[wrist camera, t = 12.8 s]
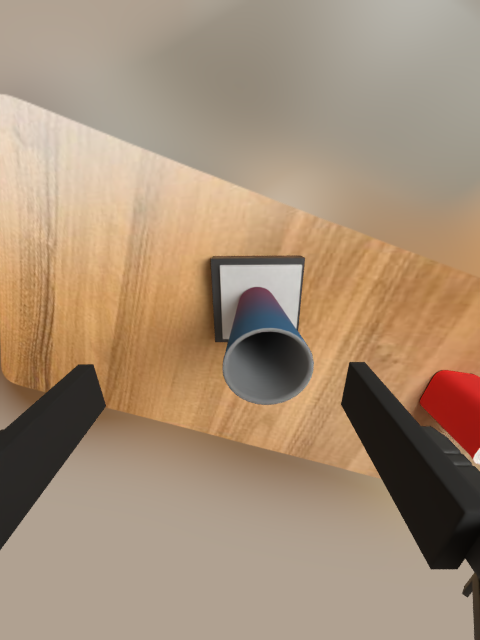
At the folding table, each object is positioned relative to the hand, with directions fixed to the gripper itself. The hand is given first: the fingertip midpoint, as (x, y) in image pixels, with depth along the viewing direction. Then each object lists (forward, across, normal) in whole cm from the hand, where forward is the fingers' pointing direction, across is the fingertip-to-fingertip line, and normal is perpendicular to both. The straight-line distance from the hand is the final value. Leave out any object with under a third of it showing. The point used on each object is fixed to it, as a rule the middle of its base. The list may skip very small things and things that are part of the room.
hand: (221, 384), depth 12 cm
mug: (+22, +38, -20) cm, 48 cm away
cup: (+20, +3, -2) cm, 20 cm away
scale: (+23, +3, -2) cm, 23 cm away
